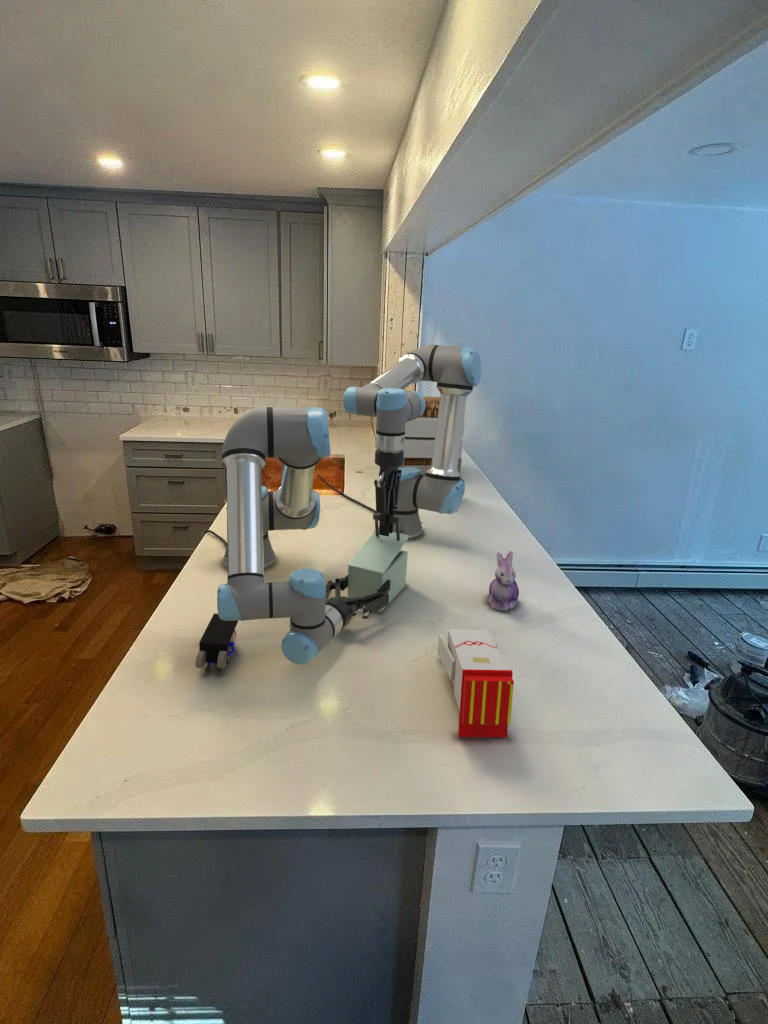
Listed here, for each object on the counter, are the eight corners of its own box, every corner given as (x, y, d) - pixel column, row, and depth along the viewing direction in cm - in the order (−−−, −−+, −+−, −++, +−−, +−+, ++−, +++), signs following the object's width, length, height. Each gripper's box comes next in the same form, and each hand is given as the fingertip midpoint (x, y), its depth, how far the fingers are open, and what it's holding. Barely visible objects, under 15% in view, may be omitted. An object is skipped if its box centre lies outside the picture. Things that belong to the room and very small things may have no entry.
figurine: (500, 615, 149) (507, 563, 144) (477, 598, 157) (483, 548, 152) (528, 608, 153) (536, 557, 148) (504, 591, 161) (510, 543, 156)
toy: (488, 613, 130) (523, 677, 101) (484, 667, 133) (517, 744, 104) (435, 612, 130) (455, 676, 101) (432, 666, 133) (451, 743, 103)
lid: (376, 531, 162) (375, 506, 157) (408, 537, 158) (408, 512, 154) (348, 567, 148) (345, 541, 144) (382, 575, 144) (380, 549, 140)
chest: (374, 577, 167) (376, 544, 163) (405, 585, 163) (407, 551, 159) (347, 603, 151) (348, 567, 148) (380, 612, 148) (382, 575, 144)
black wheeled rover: (228, 683, 120) (242, 637, 133) (225, 655, 116) (240, 611, 130) (196, 682, 119) (214, 637, 133) (192, 654, 116) (211, 610, 130)
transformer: (382, 463, 289) (386, 382, 275) (445, 464, 293) (451, 384, 279) (390, 482, 257) (394, 392, 243) (460, 483, 261) (468, 394, 247)
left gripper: (288, 620, 137) (333, 583, 156) (373, 645, 129) (409, 602, 148) (288, 593, 134) (333, 558, 154) (374, 616, 126) (410, 576, 145)
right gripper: (391, 458, 139) (387, 545, 147) (413, 445, 152) (408, 527, 160) (364, 453, 142) (361, 540, 150) (387, 442, 155) (384, 522, 163)
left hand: (370, 580), depth 151 cm, fingers closed on chest, 10 cm apart
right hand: (385, 533), depth 155 cm, fingers closed on lid, 2 cm apart
